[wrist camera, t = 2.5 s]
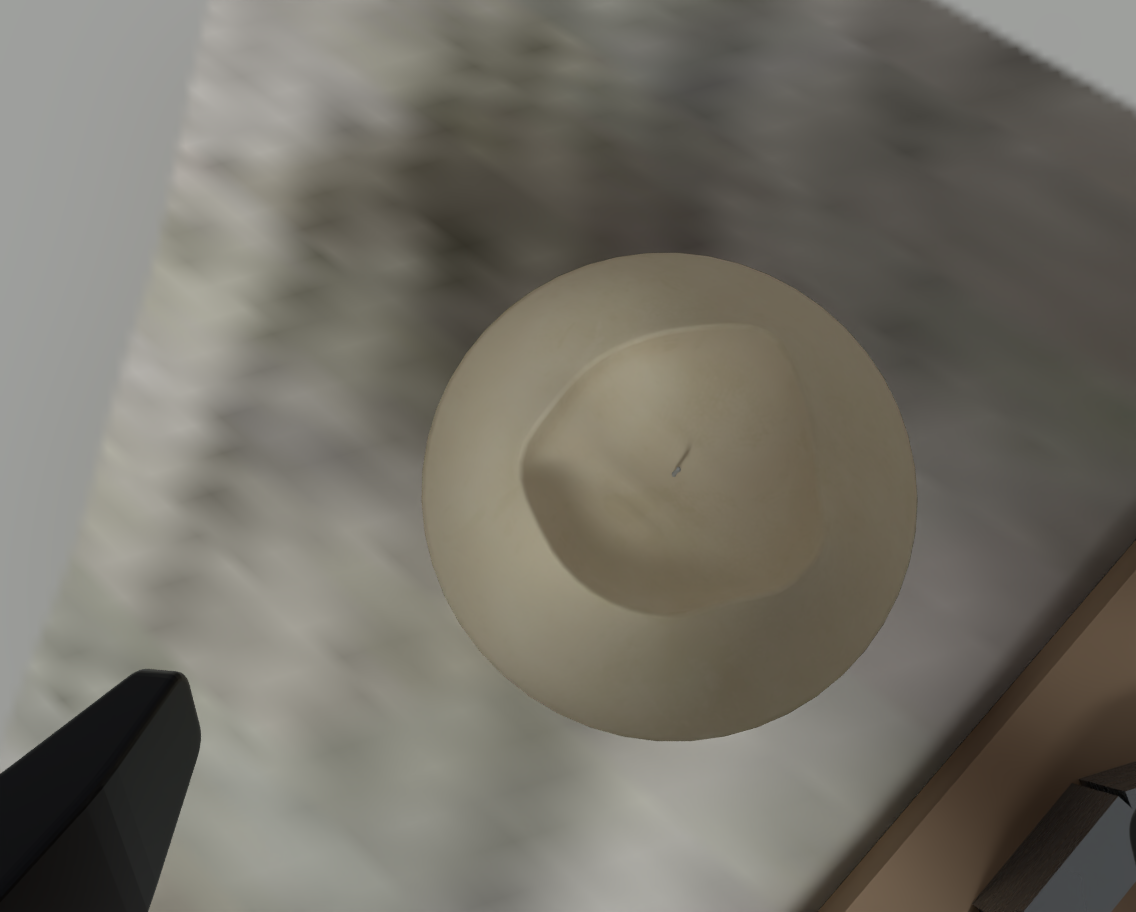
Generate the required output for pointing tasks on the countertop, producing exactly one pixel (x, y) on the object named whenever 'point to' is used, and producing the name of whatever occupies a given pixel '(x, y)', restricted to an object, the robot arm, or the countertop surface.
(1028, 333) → the countertop surface
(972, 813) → the dock
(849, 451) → the candle
